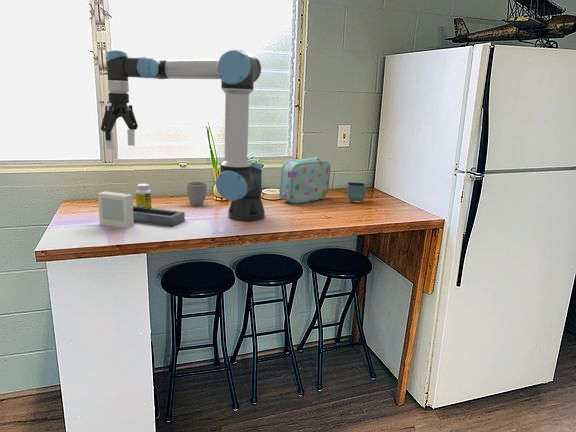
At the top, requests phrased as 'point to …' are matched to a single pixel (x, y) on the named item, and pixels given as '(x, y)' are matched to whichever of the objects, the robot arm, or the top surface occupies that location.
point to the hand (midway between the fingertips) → (121, 147)
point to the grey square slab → (116, 209)
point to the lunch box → (304, 180)
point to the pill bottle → (143, 196)
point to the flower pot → (356, 191)
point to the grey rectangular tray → (157, 216)
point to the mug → (196, 192)
